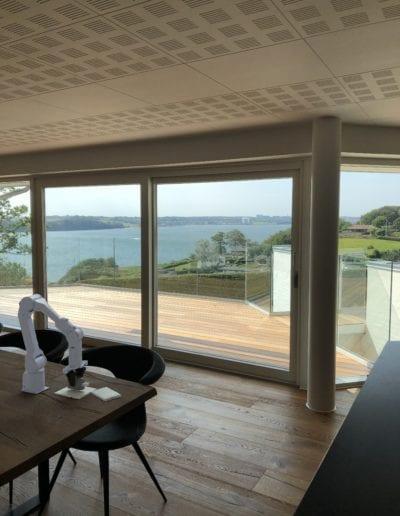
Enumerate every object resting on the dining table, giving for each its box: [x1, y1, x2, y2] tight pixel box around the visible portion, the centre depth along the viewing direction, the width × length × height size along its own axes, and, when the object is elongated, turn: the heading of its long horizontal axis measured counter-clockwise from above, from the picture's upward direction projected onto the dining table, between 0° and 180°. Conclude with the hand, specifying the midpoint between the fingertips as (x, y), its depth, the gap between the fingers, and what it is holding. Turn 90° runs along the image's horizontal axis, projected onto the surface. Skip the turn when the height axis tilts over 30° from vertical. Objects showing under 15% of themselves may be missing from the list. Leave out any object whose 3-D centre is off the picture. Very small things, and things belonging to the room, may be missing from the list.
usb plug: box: [66, 375, 90, 390], centre depth 194 cm, size 11×4×5 cm, turn 65°
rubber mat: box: [54, 386, 98, 400], centre depth 195 cm, size 14×12×1 cm
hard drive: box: [90, 386, 122, 402], centre depth 192 cm, size 2×8×12 cm
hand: (75, 384), depth 195 cm, fingers closed on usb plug, 4 cm apart
